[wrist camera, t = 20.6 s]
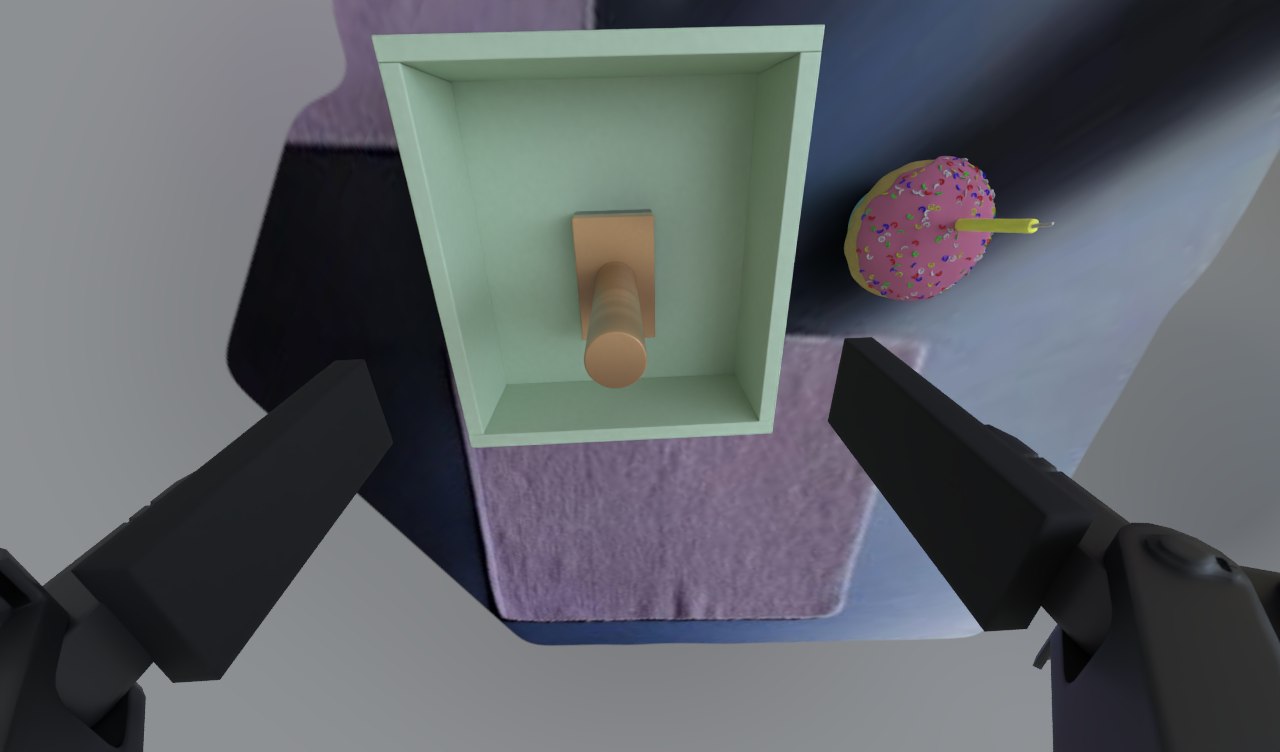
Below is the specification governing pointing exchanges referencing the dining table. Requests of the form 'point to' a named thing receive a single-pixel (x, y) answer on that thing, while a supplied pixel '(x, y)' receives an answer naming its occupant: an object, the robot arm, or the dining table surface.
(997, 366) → the dining table surface
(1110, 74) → the dining table surface
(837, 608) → the dining table surface
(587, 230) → the wooden stamp
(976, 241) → the cupcake
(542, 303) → the tub
